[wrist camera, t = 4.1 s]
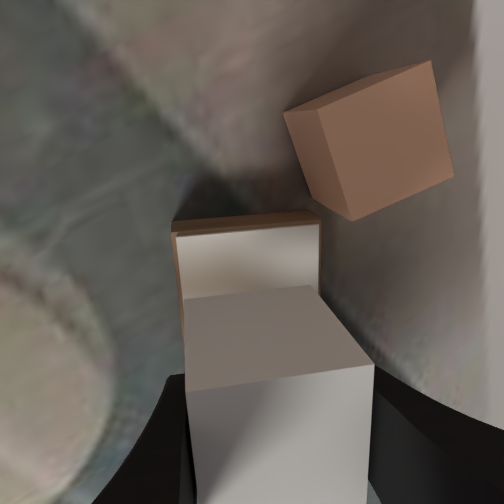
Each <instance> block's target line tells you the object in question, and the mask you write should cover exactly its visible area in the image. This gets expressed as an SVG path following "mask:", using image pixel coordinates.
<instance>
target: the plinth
mask: <svg viewBox="0 0 504 504" xmlns="http://www.w3.org/2000/svg"><path fill="white" fill-rule="evenodd" d="M321 233H322V219H320V218H319V217H318V216H316V215H315V214H313V213H312V212H310V211H309V210H300V211H288V212H276V213H264V214H252V215H240V216H228V217H216V218H204V219H192V220H180V221H172V226H171V238H172V247H173V255H174V264H175V273H176V281H177V290H178V299H179V308H180V316H181V325H182V334H183V342H184V299H190V298H198V297H207V296H216V295H224V294H233V293H242V292H251V291H259V290H268V289H277V288H285V287H294V286H303V285H311V286H312V288H313V289H314V290H315V291H316V292H317V294H318V295H319V296H320V297H321ZM184 351H185V342H184Z"/></svg>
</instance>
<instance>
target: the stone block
mask: <svg viewBox="0 0 504 504" xmlns="http://www.w3.org/2000/svg"><path fill="white" fill-rule="evenodd" d="M184 342H185V393H186V402H187V410H188V418H189V426H190V435H191V443H192V451H193V460H194V468H195V476H196V484H197V493H198V501H199V504H366V499H367V482H368V466H369V449H370V432H371V415H372V398H373V381H374V365H375V364H374V363H373V362H372V360H371V359H370V358H369V357H368V355H367V354H366V353H365V352H364V351H363V349H362V348H361V347H360V346H359V344H358V343H357V342H356V341H355V339H354V338H353V337H352V336H351V334H350V333H349V332H348V331H347V330H346V328H345V327H344V326H343V325H342V323H341V322H340V321H339V320H338V318H337V317H336V316H335V315H334V313H333V312H332V311H331V310H330V309H329V307H328V306H327V305H326V304H325V302H324V301H323V300H322V299H321V297H320V296H319V295H318V294H317V292H316V291H315V290H314V289H313V288H312V286H311V285H303V286H294V287H285V288H277V289H268V290H259V291H251V292H242V293H233V294H224V295H216V296H207V297H198V298H190V299H184Z"/></svg>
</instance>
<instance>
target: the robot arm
mask: <svg viewBox="0 0 504 504" xmlns="http://www.w3.org/2000/svg"><path fill="white" fill-rule="evenodd" d="M368 480H369V481H370V483H371V485H372V487H373V489H374V490H375V492H376V494H377V496H378V498H379V499H380V501H381V503H382V504H504V430H502V429H499V428H497V427H494V426H492V425H489V424H486V423H484V422H481V421H479V420H476V419H474V418H471V417H469V416H467V415H465V414H462V413H460V412H458V411H456V410H454V409H452V408H449V407H447V406H445V405H443V404H441V403H439V402H437V401H435V400H433V399H431V398H430V397H428V396H426V395H424V394H422V393H420V392H419V391H417V390H415V389H413V388H412V387H410V386H408V385H406V384H405V383H403V382H401V381H400V380H398V379H396V378H395V377H393V376H392V375H390V374H388V373H387V372H385V371H384V370H382V369H381V368H379V367H377V366H376V365H374V381H373V398H372V415H371V432H370V449H369V466H368ZM92 504H199V501H198V493H197V484H196V476H195V468H194V460H193V451H192V443H191V435H190V426H189V418H188V410H187V402H186V393H185V373H184V374H177V375H170V376H169V377H168V379H167V380H166V384H165V386H164V389H163V392H162V394H161V396H160V399H159V401H158V403H157V405H156V407H155V409H154V411H153V413H152V415H151V417H150V419H149V421H148V423H147V425H146V427H145V428H144V430H143V432H142V433H141V435H140V437H139V439H138V440H137V442H136V444H135V445H134V447H133V449H132V450H131V452H130V453H129V455H128V456H127V458H126V459H125V461H124V462H123V464H122V465H121V466H120V468H119V469H118V471H117V472H116V473H115V475H114V476H113V477H112V479H111V480H110V481H109V483H108V484H107V485H106V486H105V488H104V489H103V490H102V491H101V493H100V494H99V495H98V496H97V498H96V499H95V500H94V501H93V502H92Z"/></svg>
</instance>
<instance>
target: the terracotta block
mask: <svg viewBox="0 0 504 504" xmlns="http://www.w3.org/2000/svg"><path fill="white" fill-rule="evenodd" d="M283 116H284V119H285V122H286V124H287V127H288V130H289V133H290V136H291V139H292V142H293V144H294V147H295V150H296V153H297V156H298V159H299V162H300V165H301V167H302V170H303V173H304V176H305V179H306V182H307V185H308V187H309V190H310V193H311V196H312V199H313V200H315V201H317V202H319V203H320V204H322V205H324V206H326V207H327V208H329V209H331V210H332V211H334V212H336V213H338V214H339V215H341V216H343V217H345V218H346V219H348V220H350V221H352V222H354V221H356V220H358V219H360V218H363V217H365V216H367V215H369V214H372V213H374V212H376V211H378V210H380V209H383V208H385V207H387V206H389V205H392V204H394V203H396V202H398V201H401V200H403V199H405V198H407V197H410V196H412V195H414V194H416V193H418V192H421V191H423V190H425V189H427V188H430V187H432V186H434V185H436V184H439V183H441V182H443V181H445V180H448V179H450V178H452V177H454V171H453V166H452V162H451V157H450V152H449V147H448V142H447V137H446V132H445V127H444V122H443V118H442V113H441V108H440V103H439V98H438V93H437V88H436V83H435V79H434V74H433V69H432V64H431V60H429V61H425V62H421V63H417V64H413V65H409V66H405V67H400V68H396V69H392V70H388V71H384V72H380V73H376V74H372V75H368V76H366V77H364V78H361V79H359V80H357V81H355V82H352V83H350V84H348V85H345V86H343V87H341V88H338V89H336V90H334V91H331V92H329V93H327V94H325V95H322V96H320V97H318V98H315V99H313V100H311V101H308V102H306V103H304V104H302V105H299V106H297V107H295V108H292V109H290V110H288V111H285V112H283Z"/></svg>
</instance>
